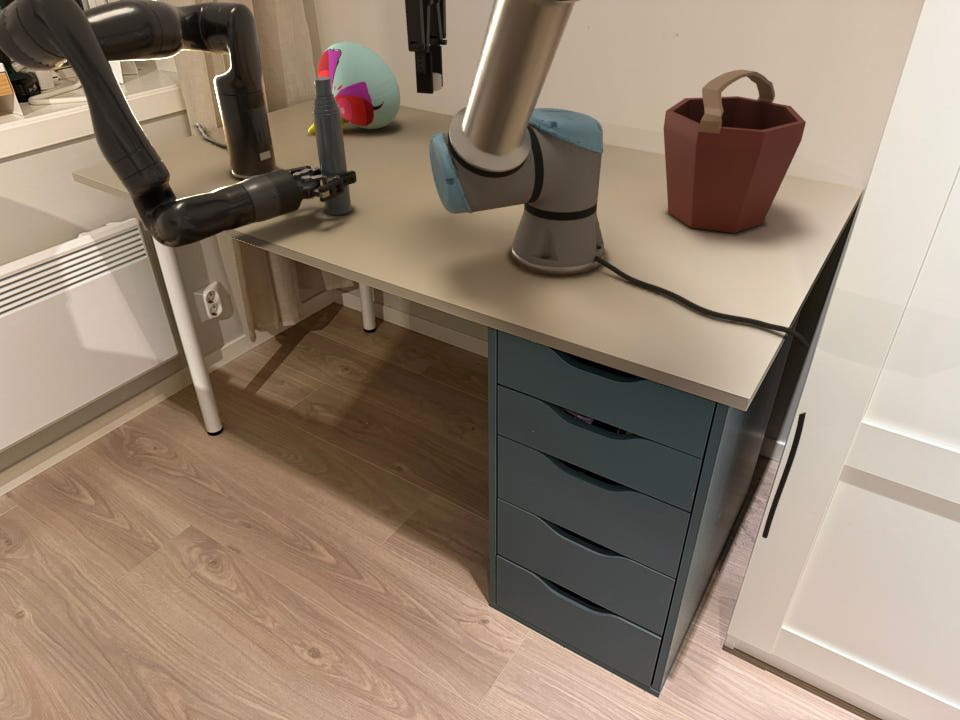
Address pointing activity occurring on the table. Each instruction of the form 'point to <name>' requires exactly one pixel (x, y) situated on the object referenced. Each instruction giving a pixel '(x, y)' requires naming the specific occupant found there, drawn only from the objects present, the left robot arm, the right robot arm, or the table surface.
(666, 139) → the bucket
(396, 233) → the table surface
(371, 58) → the toy
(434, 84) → the cap
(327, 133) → the bottle
